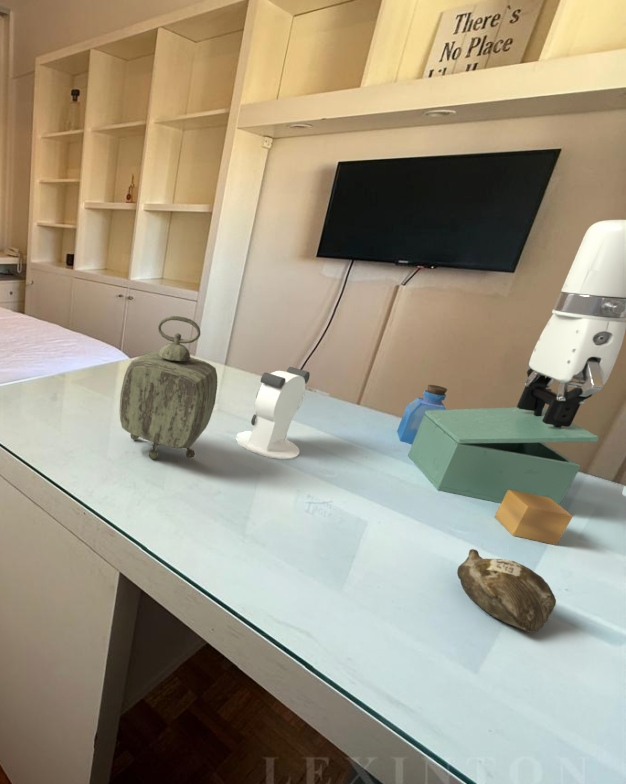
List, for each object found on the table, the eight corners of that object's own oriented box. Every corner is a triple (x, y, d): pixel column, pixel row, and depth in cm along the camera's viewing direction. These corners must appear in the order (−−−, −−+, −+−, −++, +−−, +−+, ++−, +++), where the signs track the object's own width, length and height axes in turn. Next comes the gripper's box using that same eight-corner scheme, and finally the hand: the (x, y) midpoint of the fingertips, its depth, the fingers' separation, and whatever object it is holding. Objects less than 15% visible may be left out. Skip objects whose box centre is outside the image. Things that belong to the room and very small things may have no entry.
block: (534, 525, 69) (549, 497, 67) (556, 545, 65) (573, 516, 63) (494, 516, 70) (508, 489, 69) (512, 535, 66) (528, 506, 64)
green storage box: (506, 474, 84) (527, 432, 81) (554, 514, 72) (581, 466, 69) (407, 455, 89) (424, 414, 86) (437, 490, 77) (457, 443, 74)
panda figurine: (256, 427, 97) (274, 360, 92) (311, 449, 88) (334, 377, 83) (224, 439, 90) (241, 367, 85) (280, 464, 82) (303, 386, 76)
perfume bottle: (432, 439, 98) (453, 387, 94) (437, 449, 93) (460, 395, 89) (397, 431, 101) (416, 380, 97) (400, 440, 96) (420, 387, 92)
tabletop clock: (202, 457, 82) (233, 321, 73) (188, 478, 75) (220, 329, 66) (128, 434, 89) (148, 307, 80) (108, 450, 82) (127, 313, 73)
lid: (540, 410, 80) (544, 379, 78) (598, 441, 68) (604, 405, 66) (424, 414, 86) (426, 385, 84) (458, 443, 74) (461, 410, 72)
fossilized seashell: (453, 546, 58) (437, 593, 53) (508, 526, 54) (497, 576, 48) (508, 597, 56) (498, 652, 50) (571, 581, 51) (568, 640, 45)
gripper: (676, 319, 60) (612, 442, 66) (583, 302, 75) (537, 403, 81) (601, 313, 62) (545, 432, 68) (525, 298, 77) (485, 396, 83)
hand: (541, 415), depth 75 cm, fingers closed on lid, 6 cm apart
